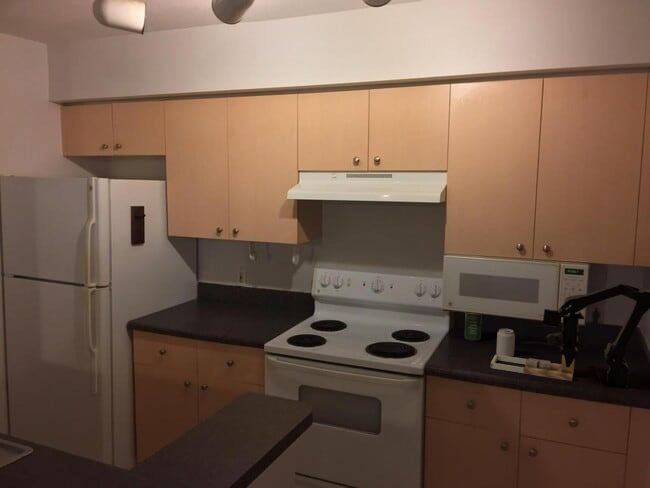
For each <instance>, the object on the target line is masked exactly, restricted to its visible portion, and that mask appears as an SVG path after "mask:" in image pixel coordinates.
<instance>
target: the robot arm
mask: <svg viewBox="0 0 650 488" xmlns="http://www.w3.org/2000/svg"><path fill="white" fill-rule="evenodd" d="M620 295H622V296H624V297H626V298H629V299H631V300H633V301H632V305H631V310H630V312H629V313H628V315H627V318H626V319H625V322H624V324H623V326H622V327H621V329H620V332H619V333H618V336H617V337H616V339H615V341H613V343H610V342H608V343H607V346H606V348H605V349H604V350H603V351H604V357H605V361H606V364H607V365H608V366H609V368H608V369H609V370H608V369H607V373H606V383H608V386H611V387H614V388H615V387H617V388H623V389H628V386H629V385H628V379H629V377H628V376H629V371H630V368H629V365H628V363H627V361H626V360H625V358H626V357H625V355H626V352H627V347H628V345H629V343H630V342H631V339H632V338H633V335H634V333H635V331H636V329H637V327H638V325H639V324H640V322H641V320H642V318H643V316H644V315H645V314H646V313H647V312H649V310H650V290H649V289H647V288H638V287H635V286H632V285H629V284H625V283H624V282H617V283H616V284H612V285H610V286H607V287H604V288H601V289H598V290H594V291H592V292H588V293H586V294H585V293H584V294H575V295H571V296H567V297H566V298H565V299H564V301H563V304H562V305H561V306H560V307H559V308H558V309H549V308H544V311H543V319H542V326H543V327H552V328H558V327H559V326H561V325H562V329H561V331H560V332H554V333H549V334H547V335H546V341H547V344H548V345H550V346H551V345H553V344H559V343H560V346H559V354H560V355H561V356H562V355H564V357H565V362H566V367H568V368H569V367H570V365H571V364H572V362H573V360H574V361H575V359H576V357H578V345H579V338H578V337H579V327H580V326H579V324H580V320H585V315H583V314H582V312H581V311H583V310H584V309H585V308H587V307H589V306H590V305H593V304H596V303H601V302H602V301H605V300H608V299H611V298H615V297H618V296H620Z"/></svg>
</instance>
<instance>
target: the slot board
mask: <svg viewBox="0 0 650 488" xmlns="http://www.w3.org/2000/svg"><path fill="white" fill-rule="evenodd" d="M526 359H527V360H528V359H529V358H526ZM527 360H526V364H525V366H524V367H523V368H524V372H523V373H522V374H525V375H526V374H527V375H533V376H538V377H545V378H551V379H557V380H564V381H570V382H572V381H573V377H574V376H573V375H574V373H573V374H570V373H563V372H561V365H562V363H554V362H550V370H544V369H538V368H531V367H527Z"/></svg>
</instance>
